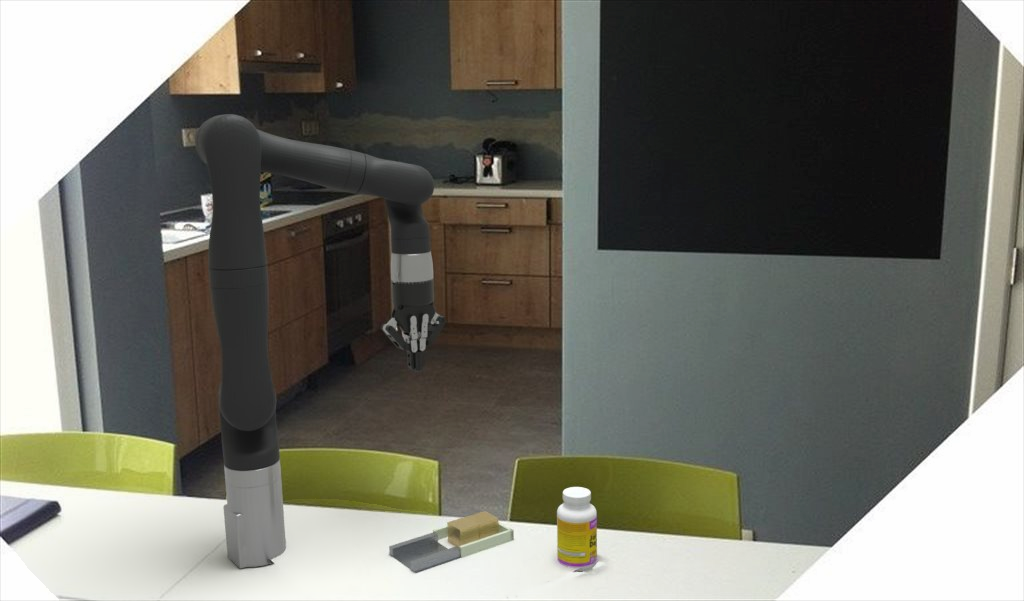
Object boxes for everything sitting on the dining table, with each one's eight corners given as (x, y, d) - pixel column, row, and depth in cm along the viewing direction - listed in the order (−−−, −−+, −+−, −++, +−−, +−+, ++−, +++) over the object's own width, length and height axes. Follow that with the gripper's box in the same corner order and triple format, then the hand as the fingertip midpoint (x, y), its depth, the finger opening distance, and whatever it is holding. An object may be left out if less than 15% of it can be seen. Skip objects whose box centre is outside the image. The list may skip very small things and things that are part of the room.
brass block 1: (460, 551, 164) (459, 529, 163) (448, 543, 167) (447, 522, 166) (479, 545, 166) (479, 523, 165) (467, 537, 169) (466, 516, 168)
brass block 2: (480, 545, 166) (479, 524, 165) (467, 537, 169) (466, 516, 168) (498, 539, 168) (498, 518, 168) (485, 531, 171) (485, 510, 171)
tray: (461, 562, 161) (461, 547, 160) (433, 544, 168) (433, 529, 167) (513, 544, 167) (513, 530, 166) (484, 528, 174) (484, 513, 174)
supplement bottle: (594, 574, 156) (594, 501, 153) (554, 571, 157) (553, 498, 154) (599, 556, 162) (598, 485, 160) (560, 553, 163) (559, 483, 161)
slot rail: (415, 578, 155) (415, 564, 155) (388, 559, 163) (388, 545, 162) (461, 562, 161) (461, 549, 160) (433, 544, 168) (433, 531, 167)
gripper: (432, 270, 176) (436, 360, 180) (369, 278, 169) (374, 372, 172) (454, 275, 171) (457, 368, 174) (390, 283, 163) (394, 381, 166)
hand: (416, 370), depth 173 cm, fingers closed
